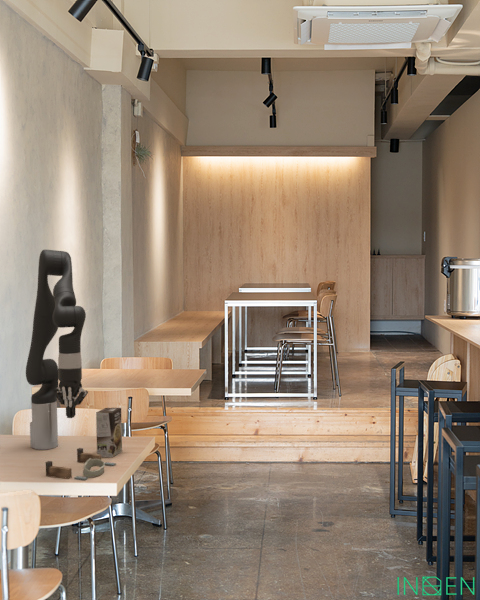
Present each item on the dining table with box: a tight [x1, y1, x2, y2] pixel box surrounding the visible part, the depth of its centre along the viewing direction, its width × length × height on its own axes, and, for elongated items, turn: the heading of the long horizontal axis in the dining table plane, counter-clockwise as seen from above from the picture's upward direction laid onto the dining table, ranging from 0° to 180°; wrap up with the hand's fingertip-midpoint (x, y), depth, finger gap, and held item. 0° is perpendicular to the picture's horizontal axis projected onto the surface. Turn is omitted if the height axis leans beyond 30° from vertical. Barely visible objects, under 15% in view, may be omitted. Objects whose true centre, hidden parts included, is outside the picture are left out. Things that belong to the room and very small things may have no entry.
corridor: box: [45, 447, 102, 480], centre depth 216 cm, size 9×18×4 cm, turn 157°
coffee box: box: [95, 407, 123, 458], centre depth 234 cm, size 9×6×16 cm
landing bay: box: [74, 461, 117, 482], centre depth 212 cm, size 4×18×1 cm, turn 157°
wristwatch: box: [82, 458, 106, 479], centre depth 211 cm, size 9×6×5 cm
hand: (70, 417), depth 215 cm, fingers closed
